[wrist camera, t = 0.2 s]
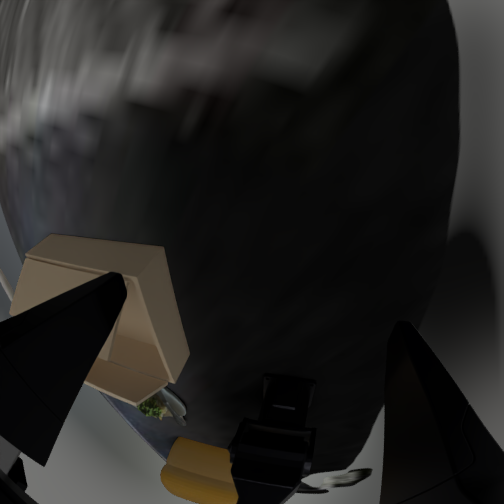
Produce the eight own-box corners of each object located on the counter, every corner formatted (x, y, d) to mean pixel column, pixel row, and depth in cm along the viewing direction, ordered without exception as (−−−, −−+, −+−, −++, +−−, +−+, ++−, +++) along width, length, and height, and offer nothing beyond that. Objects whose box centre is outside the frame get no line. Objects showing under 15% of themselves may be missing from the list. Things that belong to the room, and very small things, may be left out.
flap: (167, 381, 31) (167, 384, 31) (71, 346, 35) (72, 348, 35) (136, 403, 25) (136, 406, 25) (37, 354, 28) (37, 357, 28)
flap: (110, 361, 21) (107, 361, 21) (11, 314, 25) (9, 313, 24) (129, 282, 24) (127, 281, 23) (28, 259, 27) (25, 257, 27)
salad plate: (217, 417, 46) (208, 438, 42) (159, 418, 55) (151, 434, 51) (136, 350, 40) (122, 372, 36) (92, 362, 49) (81, 379, 45)
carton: (190, 353, 36) (175, 383, 32) (88, 323, 40) (71, 345, 36) (163, 246, 27) (136, 277, 23) (51, 233, 31) (25, 253, 27)
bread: (278, 458, 52) (262, 516, 40) (277, 471, 59) (264, 521, 47) (176, 434, 58) (153, 485, 46) (188, 451, 65) (170, 495, 53)
